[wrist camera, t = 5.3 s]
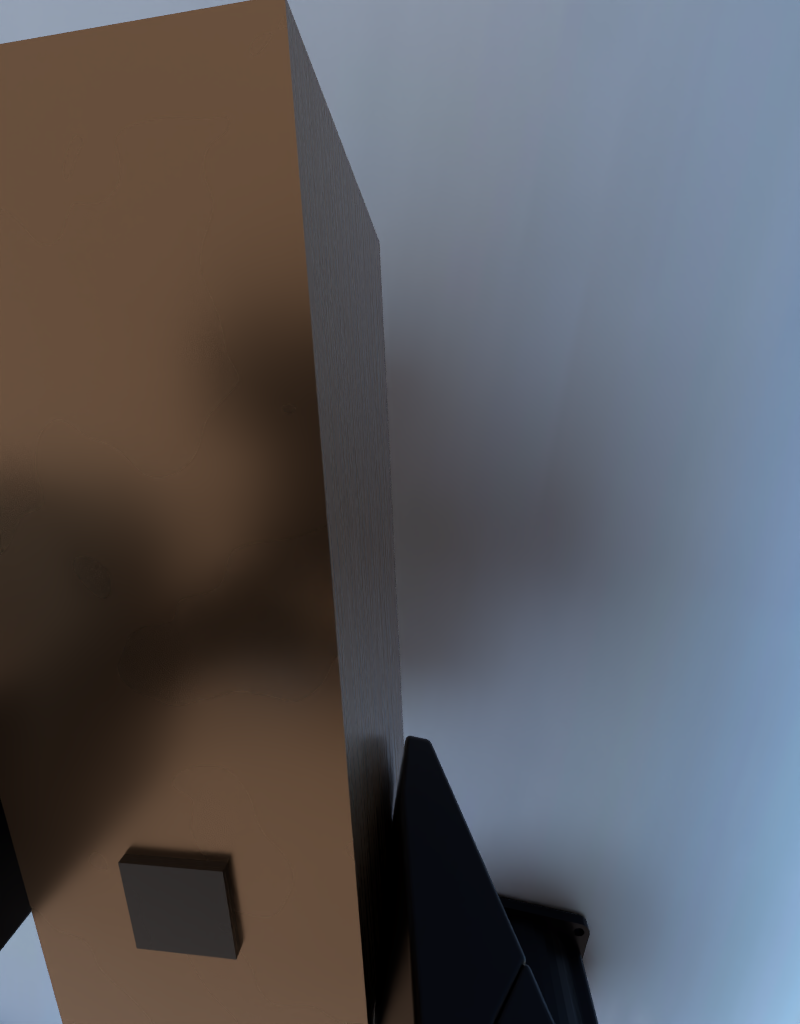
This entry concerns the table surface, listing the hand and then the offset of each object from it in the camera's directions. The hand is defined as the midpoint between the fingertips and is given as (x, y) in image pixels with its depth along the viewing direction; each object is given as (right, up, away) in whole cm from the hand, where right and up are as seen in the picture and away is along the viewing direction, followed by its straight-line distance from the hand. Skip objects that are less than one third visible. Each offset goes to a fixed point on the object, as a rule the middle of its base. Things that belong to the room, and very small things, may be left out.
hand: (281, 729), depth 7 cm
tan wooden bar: (0, 0, +1) cm, 1 cm away
